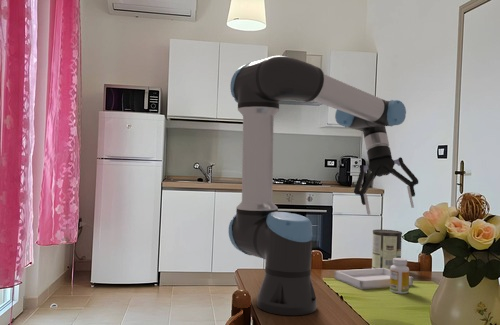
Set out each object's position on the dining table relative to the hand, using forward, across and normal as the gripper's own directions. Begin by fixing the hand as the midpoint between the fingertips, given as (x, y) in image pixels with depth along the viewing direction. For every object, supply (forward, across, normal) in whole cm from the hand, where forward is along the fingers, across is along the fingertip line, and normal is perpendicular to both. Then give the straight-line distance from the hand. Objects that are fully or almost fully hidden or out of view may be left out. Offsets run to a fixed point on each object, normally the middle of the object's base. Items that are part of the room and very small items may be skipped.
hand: (390, 210), depth 144 cm
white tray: (+21, +10, -6) cm, 24 cm away
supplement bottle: (+25, +2, +2) cm, 25 cm away
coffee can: (+16, +7, -28) cm, 32 cm away
